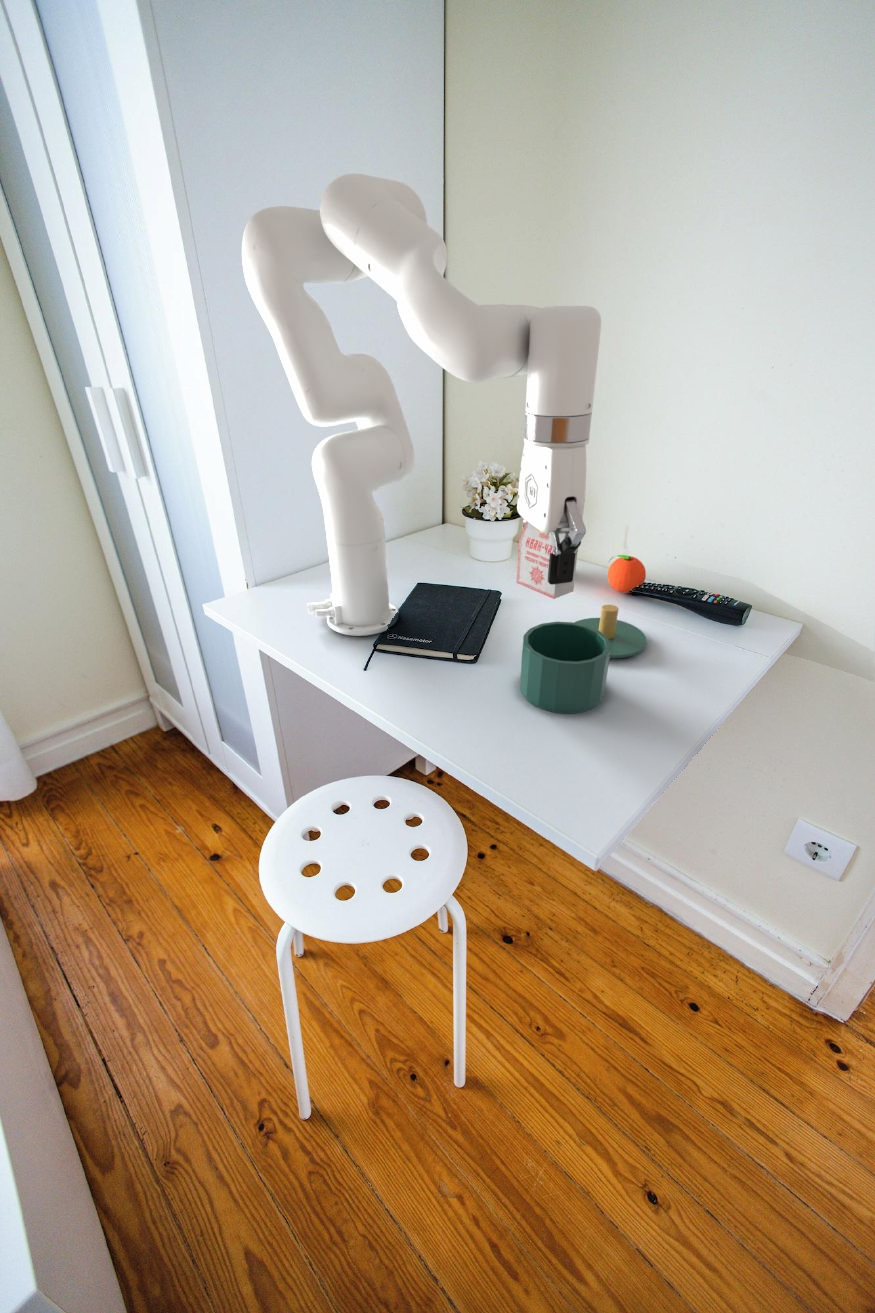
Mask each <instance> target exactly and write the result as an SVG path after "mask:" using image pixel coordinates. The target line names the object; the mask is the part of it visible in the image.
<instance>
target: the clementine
mask: <svg viewBox="0 0 875 1313" xmlns="http://www.w3.org/2000/svg"><path fill="white" fill-rule="evenodd" d="M615 557H617V558H616V559H615V560H614V561H613V562H612V563H611V564H610V565H609V567H608V570H607V581H608V583H609V585H610V586H611V588H613V589H614V590H615V591H616V592H619V593H622V594H629V593H630V594H631V593H633V592H634V591H632V592H629V591H630V590H632V589H633V588H634V587H637V586H639V585H641V584H642V585H643V584H644V582H645V580H646V576H647V575H646V574H647V573H646V567H645V565H644V564H643V562H642V561H641V560H639V559H638V557H635V556H631V555H626V554H618V555H614V556H612V557H611V558H609V561H608V563H610V562H611V560H613V559H614V558H615ZM642 585H641V586H642Z"/></svg>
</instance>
